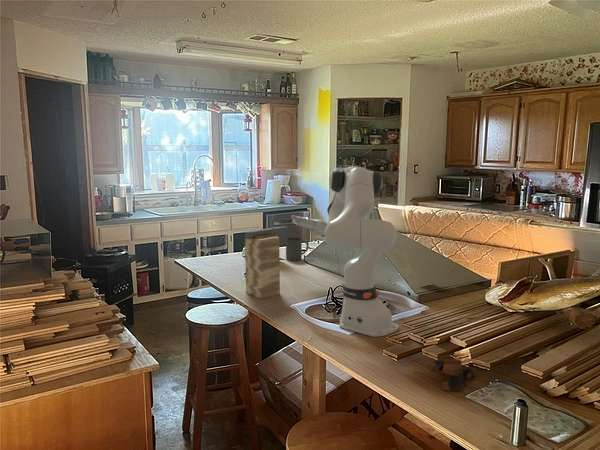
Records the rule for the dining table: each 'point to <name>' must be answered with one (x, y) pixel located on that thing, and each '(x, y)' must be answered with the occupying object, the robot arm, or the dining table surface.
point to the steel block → (265, 232)
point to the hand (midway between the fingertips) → (299, 218)
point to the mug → (294, 249)
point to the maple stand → (262, 266)
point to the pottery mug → (454, 374)
